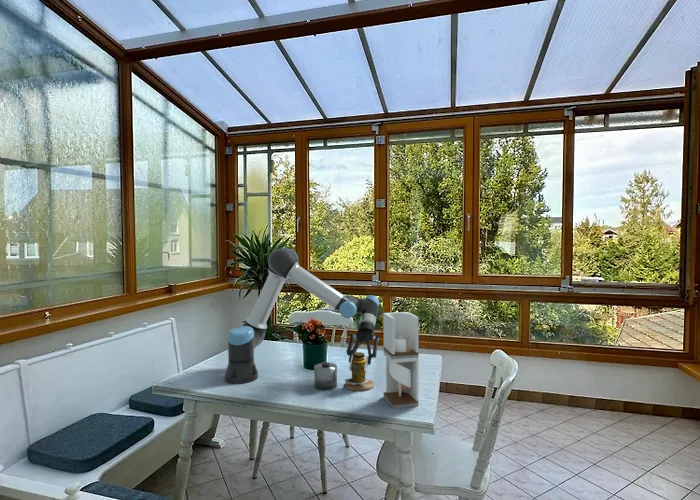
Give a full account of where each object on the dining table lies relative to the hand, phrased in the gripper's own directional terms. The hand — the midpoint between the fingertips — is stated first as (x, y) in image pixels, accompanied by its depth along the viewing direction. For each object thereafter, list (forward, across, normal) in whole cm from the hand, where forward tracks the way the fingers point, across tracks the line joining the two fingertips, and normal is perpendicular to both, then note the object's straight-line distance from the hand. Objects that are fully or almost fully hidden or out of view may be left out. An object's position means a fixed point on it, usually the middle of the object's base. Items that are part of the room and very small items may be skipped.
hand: (357, 370), depth 177 cm
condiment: (+3, +1, -4) cm, 5 cm away
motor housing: (+7, +14, -5) cm, 17 cm away
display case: (+12, -20, 0) cm, 23 cm away
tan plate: (+3, 0, -8) cm, 9 cm away
